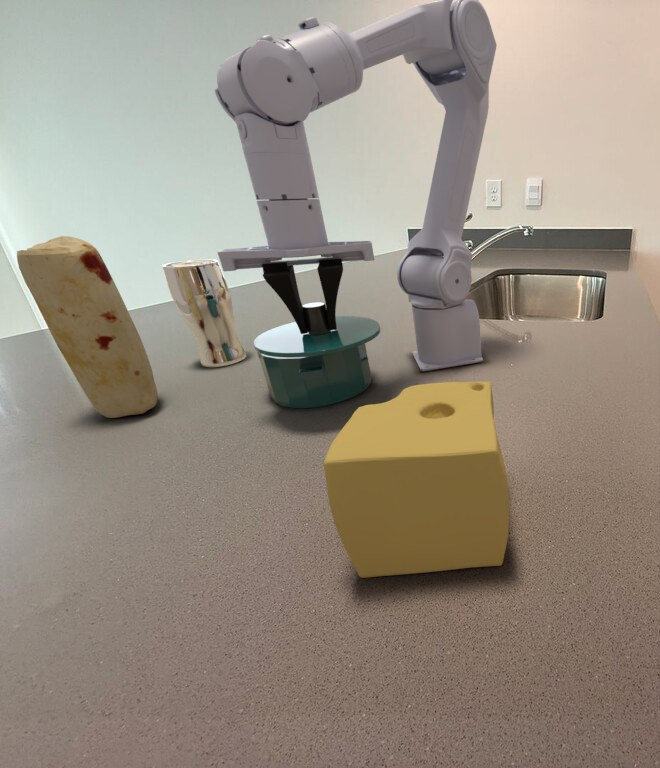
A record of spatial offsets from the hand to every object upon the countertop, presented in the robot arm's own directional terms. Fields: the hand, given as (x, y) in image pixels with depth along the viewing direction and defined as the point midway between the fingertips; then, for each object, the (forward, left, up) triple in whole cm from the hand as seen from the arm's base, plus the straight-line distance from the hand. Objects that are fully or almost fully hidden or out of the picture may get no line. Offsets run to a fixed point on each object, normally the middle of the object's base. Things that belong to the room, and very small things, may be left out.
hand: (319, 329), depth 47 cm
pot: (+2, -6, -9) cm, 11 cm away
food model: (+24, -9, -10) cm, 27 cm away
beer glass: (+17, -23, -10) cm, 30 cm away
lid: (0, 0, -1) cm, 1 cm away
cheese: (-7, +25, -10) cm, 28 cm away
